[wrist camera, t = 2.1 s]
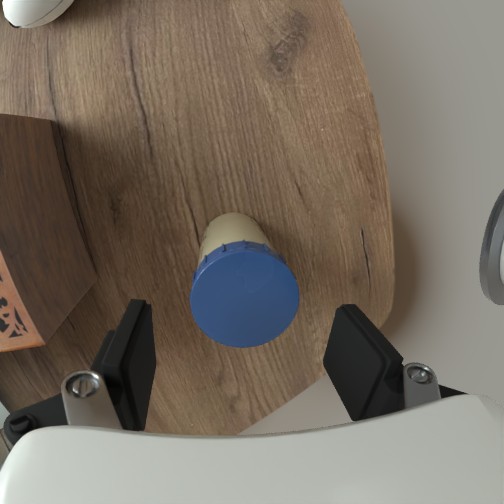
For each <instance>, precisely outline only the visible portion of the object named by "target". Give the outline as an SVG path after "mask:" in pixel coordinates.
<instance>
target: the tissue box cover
mask: <svg viewBox="0 0 504 504" xmlns="http://www.w3.org/2000/svg"><path fill="white" fill-rule="evenodd" d="M97 279H98V277H97V275H96V272H95V270H94V268H93V265H92V263H91V260H90V258H89V255H88V252H87V250H86V247H85V245H84V242H83V239H82V236H81V234H80V231H79V228H78V225H77V222H76V219H75V216H74V213H73V210H72V207H71V203H70V200H69V197H68V193H67V190H66V186H65V183H64V179H63V175H62V172H61V168H60V164H59V160H58V155H57V151H56V146H55V142H54V137H53V132H52V127H51V121H50V120H46V119H40V118H33V117H26V116H18V115H9V114H0V352H6V351H13V350H19V349H25V348H31V347H37V346H42V345H46V344H47V343H48V341H49V340H50V338H51V337H52V336H53V334H54V333H55V332H56V330H57V329H58V328H59V326H60V325H61V324H62V323H63V321H64V320H65V319H66V317H67V316H68V315H69V314H70V312H71V311H72V310H73V309H74V307H75V306H76V305H77V304H78V302H79V301H80V300H81V299H82V297H83V296H84V295H85V294H86V293H87V291H88V290H89V289H90V288H91V287H92V285H93V284H94V283H95V282H96V281H97Z"/></svg>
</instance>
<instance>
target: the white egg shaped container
mask: <svg viewBox="0 0 504 504" xmlns="http://www.w3.org/2000/svg"><path fill="white" fill-rule="evenodd" d="M73 1H74V0H3V3H2V5H3V10H4V14H5V17H6V18H7V19H8V21H9V23H10V25H11V26H12V27H14V28H19V27H22V28H33V27H38V26H42V25H45V24H47V23H49V22H51V21H53V20H55V19H56V18H57V17H58V16H60V15H61V14H62V13H63V12H64V11H65V10H66V9H67V8H68V7H69V6H70V5H71V4H72V2H73ZM50 30H51V29H50Z"/></svg>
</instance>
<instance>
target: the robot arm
mask: <svg viewBox="0 0 504 504" xmlns="http://www.w3.org/2000/svg"><path fill="white" fill-rule="evenodd" d="M500 276H501V280H502V283H503V284H504V240H503V244H502V249H501V255H500ZM402 361H403V357H402V356H401V355H400V354H399V353H398V351H396V349H395V348H394V347H393V346H392V345H391V343H390V342H389V341H388V340H387V339H386V338H385V337H384V335H383V334H382V333H381V332H380V331H379V330H378V329H377V328H376V326H375V325H374V324H373V323H372V322H371V321H370V320H369V319H368V318H367V317H366V315H365V314H364V313H363V312H362V311H361V310H360V309H359V308H358V307H357V306H356V305H355V304H342V305H341V306H340V308H337V310H336V313H335V317H334V321H333V325H332V329H331V333H330V336H329V340H328V344H327V348H326V351H325V355H324V359H323V365H324V367H325V369H326V371H327V373H328V375H329V377H330V379H331V381H332V383H333V385H334V387H335V389H336V390H337V392H338V394H339V396H340V398H341V400H342V402H343V404H344V406H345V408H346V410H347V412H348V413H349V416H350V417H351V419H352V420H353V421H355V422H350V423H345V424H340V425H334V426H328V427H322V428H315V429H308V430H300V431H292V432H281V433H271V434H270V433H269V434H256V435H255V434H254V435H226V436H205V435H178V434H161V433H149V432H139V430H140V431H144V429H145V424H146V418H147V412H148V406H149V401H150V395H151V390H152V384H153V379H154V374H155V369H156V354H155V344H154V334H153V322H152V309H151V304H147V303H146V300H137V299H131V301H130V303H129V305H128V307H127V309H126V311H125V313H124V315H123V317H122V319H121V321H120V323H119V325H118V327H117V329H116V330H109V331H108V333H107V335H106V337H105V339H104V341H103V343H102V345H101V347H100V349H99V351H98V353H97V355H96V358H95V360H94V362H93V364H92V366H91V368H90V370H86V369H83V370H76V371H73V372H71V373H69V374H68V375H67V376H66V377H65V378H64V379H63V381H62V383H61V391H62V393H61V394H58V395H56V396H53V397H51V398H48V399H46V400H43V401H41V402H38V403H36V404H33V405H30V406H28V407H25V408H22V409H20V410H17V411H15V412H13V413H11V414H10V415H9V416H8V417H7V418H6V420H5V422H4V427H3V428H2V429H0V504H504V408H503V407H501V406H500V405H499V404H498V403H497V402H496V401H494V400H493V399H492V398H490V397H488V396H484V395H478V394H467V393H464V392H461V391H457V390H454V389H451V388H448V387H445V386H441V385H439V384H438V382H437V377H436V375H435V373H434V371H433V370H432V369H431V368H429V367H428V366H426V365H424V364H420V363H409V364H407V365H405V366H403V364H402Z"/></svg>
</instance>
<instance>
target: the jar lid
mask: <svg viewBox="0 0 504 504" xmlns="http://www.w3.org/2000/svg"><path fill="white" fill-rule="evenodd" d="M192 282H193V284H192V289H191V293H190V299H189V300H190V303H191V311H192V314H193V317H194V320H195V321H196V323H197V325H198V326H199V328H200V329H201V330H202V331H203V332H204V333H205V334H206V335H207V336H208V337H210V338H211V339H213V340H215V341H216V342H219V343H221V344H224V345H227V346H231V347H240V348H244V347H254V346H258V345H262V344H264V343H267V342H269V341H271V340H273V339H274V338H276V337H277V336H279V335H280V334H281V333H282V332H284V331H285V330H286V328H287V327H288V326H289V325H290V324H291V322H292V320H293V319H294V317H295V315H296V312H297V309H298V305H299V288H298V284H297V281H296V277H295V275H294V274H293V272H292V271H291V269H289V267H288V266H287V264H286V261H285V259H284V258H283V256H282V255H281V254H278V253H277V252H275V251H274V250H273V249H271V248H269V247H268V246H266V244H265V243H263V244H260V243H256V242H251V241H245V240H243V241H237V242H231V243H228V244H225V245H224V243H223V244H222V246H220V247H218V248H216V249H215V250H213V251H212V252H211V253H209V254H208V255H205V256H204V259H203V260H202V262H201V263H200V264H199V266H198V268H197V270H196V271H194V274H193V280H192Z"/></svg>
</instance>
